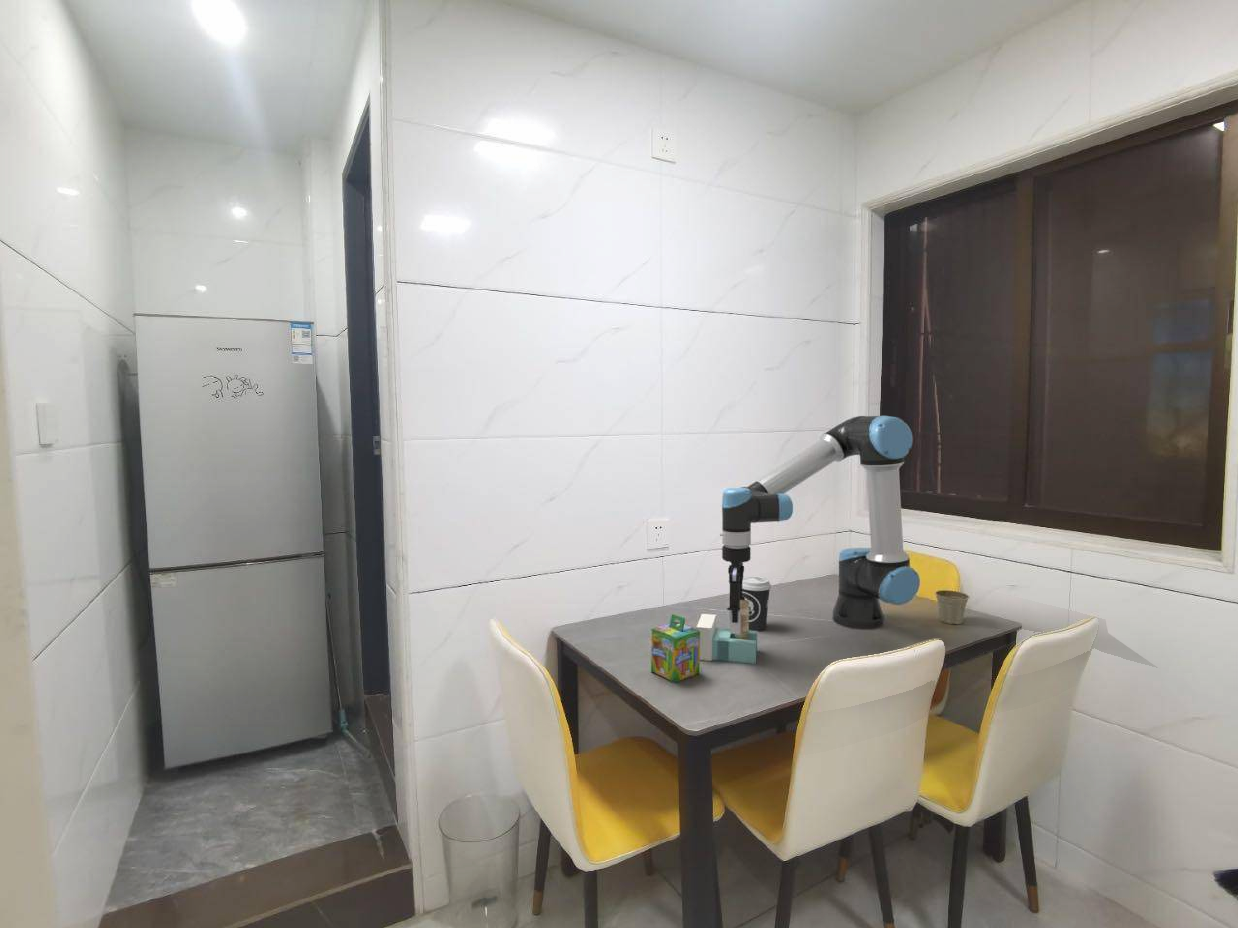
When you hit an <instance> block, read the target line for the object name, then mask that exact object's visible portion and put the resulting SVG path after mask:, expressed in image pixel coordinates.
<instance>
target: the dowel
mask: <svg viewBox="0 0 1238 928" xmlns="http://www.w3.org/2000/svg"><path fill="white" fill-rule="evenodd" d="M748 632H749V601H746V600H740V634H735V639H743V640H748Z"/></svg>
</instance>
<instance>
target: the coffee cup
mask: <svg viewBox="0 0 1238 928" xmlns="http://www.w3.org/2000/svg"><path fill="white" fill-rule="evenodd" d="M771 588H772V585H771V583H770V581H769V579H768V578H766V577H762V576H756V575H755V576H754V575H752V576H745V577H744V576H743V581H742V593H743V596H742V597H744V598H745V600H746V601H749V630H750V631H757V632H761V631H764V630H766V628H767V620H768V619H767V618H768V609H769V598H770V590H771Z"/></svg>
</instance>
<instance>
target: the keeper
mask: <svg viewBox="0 0 1238 928" xmlns="http://www.w3.org/2000/svg"><path fill="white" fill-rule="evenodd" d="M757 653H758V631H751V630H749V632H748V640H743V639H735V634H731V633H730V628H722V627H721V628H720V627H716V629H715V632H714V635H713V638H712V661H722V662H733V663H741V664H742V663H743V664H751V665H753V664H756V662H757Z"/></svg>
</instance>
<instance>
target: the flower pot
mask: <svg viewBox="0 0 1238 928" xmlns="http://www.w3.org/2000/svg"><path fill="white" fill-rule="evenodd" d="M934 594H935V596H936V600H937V606H938V616H939V620H940V622H942V623H945V624H949V625H952V624H954V625H960V624H962V623H963V620H964V616H965V615H964V614H965V610H966V606H967V603H968V601H969V599H970V595H968V594H966V593H965V592H961V591H956V590H950V589H949V590H948V589H942V590H940V589H939V590H936V591H935V592H934Z"/></svg>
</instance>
